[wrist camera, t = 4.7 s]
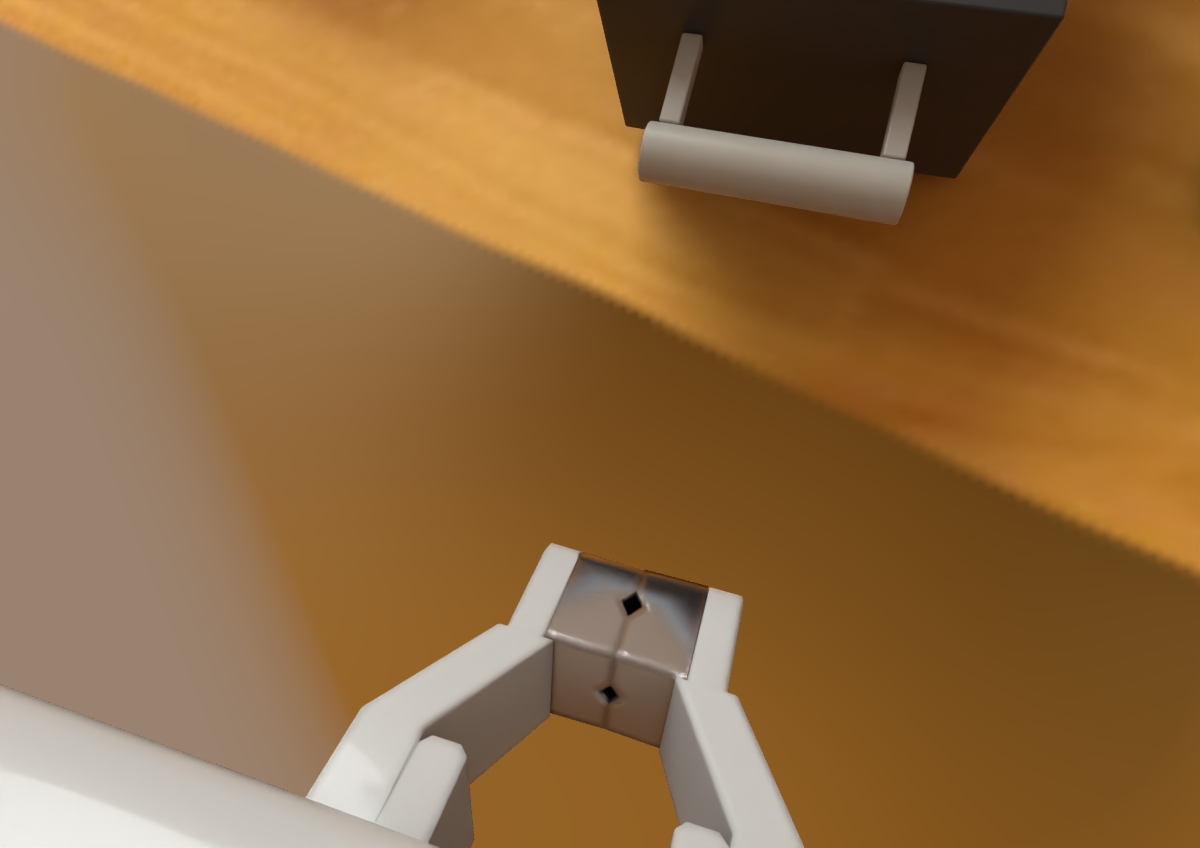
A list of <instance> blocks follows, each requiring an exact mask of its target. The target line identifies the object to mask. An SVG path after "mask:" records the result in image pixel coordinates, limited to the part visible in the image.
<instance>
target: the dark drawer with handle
mask: <svg viewBox="0 0 1200 848" xmlns="http://www.w3.org/2000/svg"><path fill="white" fill-rule="evenodd" d="M597 3H598V7H599V11H600V16H601V20H602V25H603V29H604V33H605V38H606V42H607V46H608V51H609V55H610V59H611V64H612V68H613V72H614V77H615V81H616V85H617V90H618V94H619V99H620V103H621V107H622V112H623V116H624V120H625V125H626V126H628V127H635V128H641V129H645V131H644V134H643V138H642V142H641V147H640V152H639V161H638V175H639V179H640V180H641V181H643V182H649V183H654V184H660V185H666V186H671V187H677V188H683V189H689V190H694V191H700V192H706V193H711V194H717V195H723V196H729V197H734V198H740V199H746V200H752V201H757V202H763V203H769V204H774V205H780V206H786V207H792V208H797V209H803V210H809V211H815V212H820V213H826V214H832V215H837V216H843V217H849V218H855V219H860V220H866V221H872V222H877V223H883V224H889V225H896V224H897V223H898V221H899V220H900V217H901V215H902V213H903V210H904V207H905V204H906V201H907V198H908V195H909V191H910V188H911V184H912V179H913V174H914V172H915V173H921V174H927V175H934V176H940V177H946V178H952V179H954V178H956V177H957V176H958V174H959V173H960V171H961V170H962V168H963V167H964V165H965V164H966V162H967V161H968V159H969V158H970V156H971V155H972V153H973V152H974V150H975V149H976V147H977V146H978V144H979V143H980V141H981V140H982V138H983V137H984V135H985V134H986V132H987V131H988V129H989V128H990V126H991V125H992V124H993V122H994V121H995V119H996V118H997V116H998V115H999V113H1000V112H1001V110H1002V109H1003V107H1004V106H1005V104H1006V103H1007V101H1008V100H1009V98H1010V97H1011V95H1012V94H1013V92H1014V91H1015V89H1016V88H1017V86H1018V85H1019V83H1020V82H1021V80H1022V79H1023V77H1024V76H1025V74H1026V73H1027V72H1028V70H1029V69H1030V67H1031V66H1032V64H1033V63H1034V61H1035V60H1036V58H1037V57H1038V55H1039V54H1040V52H1041V51H1042V49H1043V48H1044V46H1045V45H1046V43H1047V42H1048V40H1049V39H1050V37H1051V36H1052V34H1053V33H1054V31H1055V30H1056V28H1057V27H1058V25H1059V24H1060V22H1061V21H1062V19H1063V18H1064V14H1065V10H1066V5H1067V0H597Z"/></svg>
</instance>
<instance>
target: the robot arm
mask: <svg viewBox="0 0 1200 848" xmlns="http://www.w3.org/2000/svg"><path fill="white" fill-rule="evenodd" d="M707 591H708V592H707ZM742 607H743V597H742V596H739V595H736V594H732V593H728V592H725V591H721V590H718V589H714V588H709V589H708V586H705V585H701V584H698V583H694V582H690V581H686V580H682V579H678V578H675V577H671V576H667V575H663V574H660V573H656V572H652V571H648V570H641V569H637V568H634V567H631V566H627V565H624V564H621V563H618V562H614V561H611V560H607V559H604V558H601V557H598V556H595V555H591V554H588V553H585V552H581V551H577V550H574V549H570V548H567V547H564V546H560V545H557V544H553V543H551V544H550V545H549V546H548V547H547V548H546V550H545V551H544V553H543V555H542V557H541V559H540V561H539V563H538V565H537V567H536V569H535V571H534V573H533V575H532V577H531V579H530V581H529V583H528V585H527V588H526V590H525V592H524V594H523V596H522V598H521V600H520V602H519V604H518V606H517V608H516V610H515V612H514V614H513V616H512V618H511V620H510V622H509V624H508V626H506V625H502V624H497V625H495V626H494V627H492V628H490V629H489V630H487V631H485V632H484V633H482V634H480V635H479V636H477V637H476V638H474V639H472V640H471V641H469V642H467V643H466V644H464V645H463V646H461V647H459V648H458V649H456V650H454V651H453V652H451V653H449V654H448V655H447V656H445V657H443V658H441V659H440V660H438V661H436V662H435V663H433V664H432V665H430V666H428V667H427V668H425V669H423V670H422V671H420V672H418V673H417V674H415V675H414V676H412V677H410V678H409V679H407V680H405V681H404V682H402V683H401V684H399V685H397V686H396V687H394V688H392V689H391V690H389V691H388V692H386V693H384V694H383V695H381V696H379V697H378V698H376V699H374V700H373V701H371V702H370V703H368V704H366V705H365V706H363V707H362V708H361V709H360V711H359V712H358V714H357V716H356V717H355V719H354V720H353V722H352V724H351V725H350V727H349V728H348V730H347V732H346V733H345V735H344V736H343V738H342V740H341V741H340V743H339V745H338V746H337V748H336V749H335V751H334V752H333V754H332V756H331V757H330V759H329V761H328V762H327V764H326V766H325V767H324V769H323V770H322V772H321V774H320V775H319V777H318V778H317V780H316V781H315V783H314V785H313V786H312V788H311V790H310V791H309V793H308V794H307V796H306V797H303V796H300V795H297V794H295V793H292V792H289V791H287V790H284V789H281V788H278V787H276V786H273V785H270V784H268V783H265V782H262V781H260V780H257V779H254V778H251V777H249V776H246V775H243V774H241V773H238V772H235V771H233V770H230V769H227V768H225V767H222V766H219V765H217V764H214V763H211V762H208V761H206V760H203V759H200V758H198V757H195V756H192V755H189V754H187V753H184V752H181V751H179V750H176V749H173V748H171V747H168V746H165V745H163V744H160V743H157V742H155V741H152V740H149V739H147V738H144V737H141V736H138V735H136V734H133V733H130V732H127V731H125V730H122V729H120V728H117V727H114V726H112V725H109V724H106V723H103V722H101V721H98V720H95V719H93V718H90V717H87V716H85V715H82V714H79V713H76V712H74V711H71V710H68V709H66V708H63V707H60V706H58V705H55V704H52V703H50V702H47V701H44V700H42V699H39V698H36V697H33V696H31V695H28V694H25V693H23V692H20V691H17V690H15V689H12V688H9V687H7V686H4V685H1V684H0V848H471V846H472V843H473V841H474V833H473V821H472V810H471V799H470V787H469V785H470V784H471V783H472V782H473V781H474V780H475V779H477V778H478V777H479V776H480V775H481V774H483V773H484V772H485V771H486V770H487V769H488V768H490V767H491V766H492V765H493V764H494V763H496V762H497V761H498V760H499V759H500V758H501V757H503V756H504V755H505V754H506V753H507V752H509V751H510V750H511V749H512V748H513V747H514V746H516V745H517V744H518V743H519V742H520V741H521V740H523V739H524V738H525V737H526V736H527V735H528V734H530V733H531V732H532V731H533V730H534V729H536V728H537V727H538V726H539V725H540V724H542V723H543V722H544V721H545V720H546V719H547V718H548V717H550V713H552V714H556V715H559V716H563V717H566V718H570V719H573V720H576V721H579V722H583V723H586V724H590V725H593V726H597V727H600V728H603V729H606V730H609V731H612V732H615V733H618V734H620V735H623V736H626V737H629V738H632V739H635V740H637V741H640V742H643V743H646V744H649V745H652V746H655V747H657V748H660V749H659V752H660V756H661V760H662V764H663V767H664V771H665V774H666V778H667V782H668V785H669V789H670V793H671V796H672V800H673V803H674V807H675V811H676V814H677V818H678V821H679V825H680V826H679V827H677V828H676V829H675V831H674V834H673V838H672V841H671V844H670V848H804V846H803V844H802V841H801V839H800V837H799V835H798V832H797V830H796V828H795V826H794V823H793V821H792V819H791V816H790V814H789V812H788V810H787V807H786V805H785V803H784V801H783V798H782V797H781V794H780V792H779V789H778V787H777V785H776V783H775V780H774V778H773V776H772V774H771V771H770V769H769V767H768V765H767V762H766V760H765V758H764V755H763V753H762V751H761V749H760V746H759V744H758V742H757V740H756V737H755V735H754V733H753V731H752V728H751V726H750V724H749V721H748V719H747V717H746V715H745V713H744V710H743V708H742V706H741V703H740V701H739V699H738V697H737V696H736V695H733V694H730V693H727V690H728V684H729V679H730V673H731V668H732V662H733V657H734V651H735V646H736V640H737V634H738V629H739V624H740V618H741V613H742Z"/></svg>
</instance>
